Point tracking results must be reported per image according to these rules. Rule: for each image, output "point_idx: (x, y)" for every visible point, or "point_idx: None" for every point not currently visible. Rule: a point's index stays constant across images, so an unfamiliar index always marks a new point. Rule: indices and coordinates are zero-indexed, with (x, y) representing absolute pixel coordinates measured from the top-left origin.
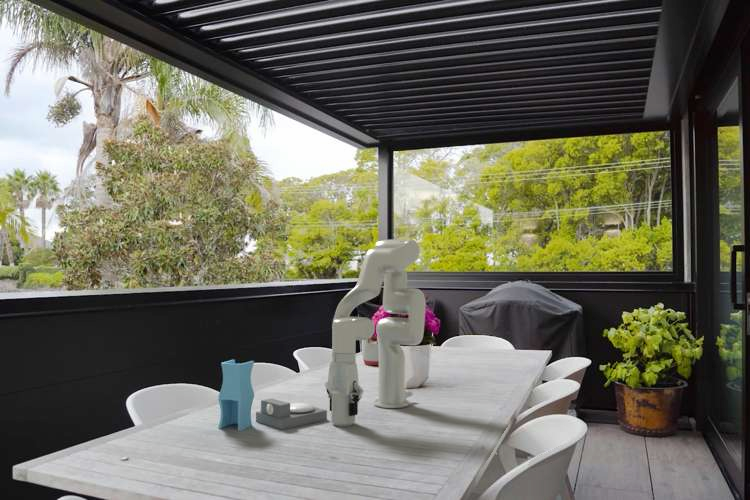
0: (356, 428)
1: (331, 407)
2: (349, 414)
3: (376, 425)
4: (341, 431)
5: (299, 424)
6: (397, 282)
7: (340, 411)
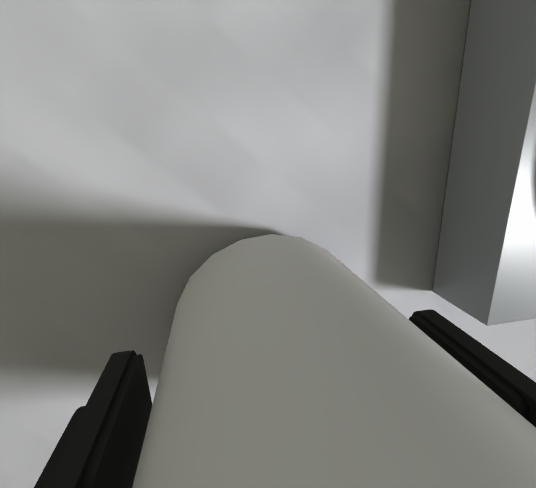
0: (102, 320)
1: (431, 333)
2: (121, 357)
3: None
4: (88, 174)
5: (479, 3)
6: None
7: (210, 308)
